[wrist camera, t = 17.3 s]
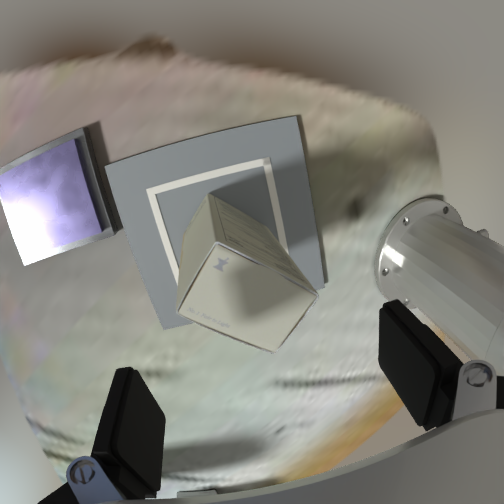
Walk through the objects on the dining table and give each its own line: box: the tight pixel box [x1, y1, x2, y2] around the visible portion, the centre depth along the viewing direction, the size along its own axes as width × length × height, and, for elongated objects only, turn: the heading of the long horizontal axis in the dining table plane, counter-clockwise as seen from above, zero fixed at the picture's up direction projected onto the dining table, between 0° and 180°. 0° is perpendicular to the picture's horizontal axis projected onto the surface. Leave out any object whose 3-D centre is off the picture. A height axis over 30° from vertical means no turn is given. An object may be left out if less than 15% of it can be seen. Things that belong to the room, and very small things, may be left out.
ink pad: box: [0, 128, 118, 265], centre depth 22 cm, size 10×9×2 cm
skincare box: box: [176, 193, 319, 354], centre depth 21 cm, size 6×4×12 cm
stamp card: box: [105, 116, 325, 330], centre depth 26 cm, size 16×16×1 cm
